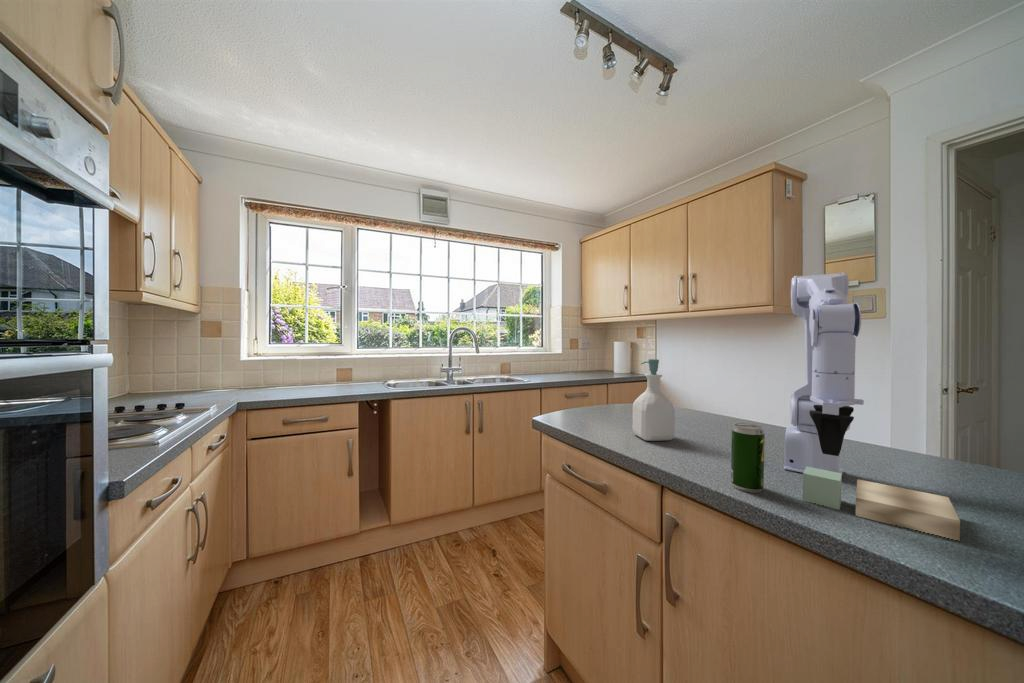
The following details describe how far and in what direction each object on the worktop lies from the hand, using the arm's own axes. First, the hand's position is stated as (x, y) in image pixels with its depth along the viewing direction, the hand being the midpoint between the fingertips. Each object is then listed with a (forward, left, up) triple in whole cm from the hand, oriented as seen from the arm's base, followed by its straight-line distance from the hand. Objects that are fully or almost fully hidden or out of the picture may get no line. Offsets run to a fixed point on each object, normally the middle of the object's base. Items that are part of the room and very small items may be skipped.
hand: (831, 449), depth 66 cm
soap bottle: (-40, +19, -10) cm, 46 cm away
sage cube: (-1, 0, -10) cm, 10 cm away
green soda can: (-12, -3, -10) cm, 16 cm away
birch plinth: (+9, +2, -9) cm, 13 cm away
